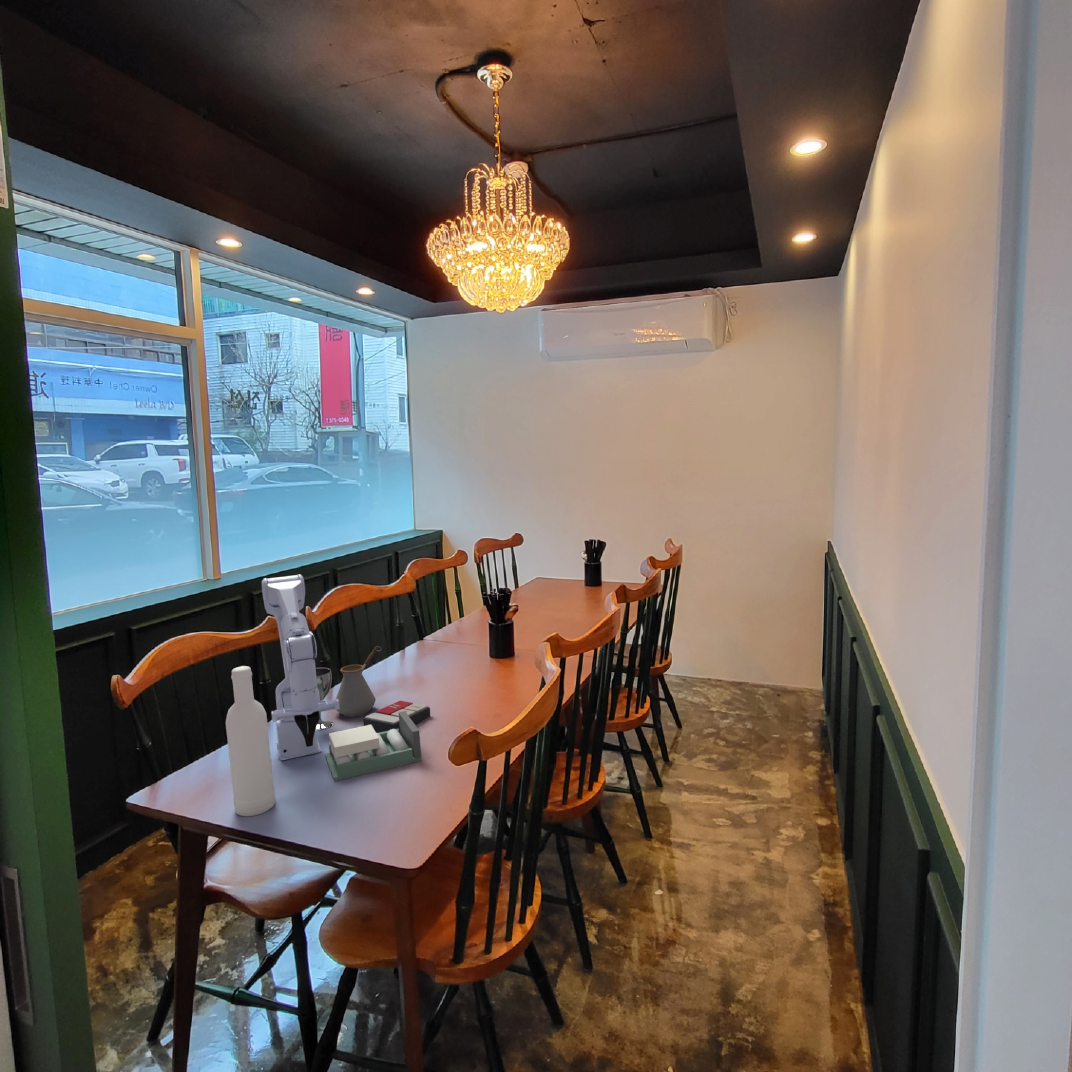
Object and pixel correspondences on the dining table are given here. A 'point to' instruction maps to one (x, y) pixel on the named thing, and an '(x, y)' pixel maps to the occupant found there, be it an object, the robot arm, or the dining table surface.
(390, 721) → the calculator
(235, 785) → the bottle
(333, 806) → the dining table surface
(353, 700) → the coffee pot
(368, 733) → the board
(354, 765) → the roller frame
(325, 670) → the wine glass
